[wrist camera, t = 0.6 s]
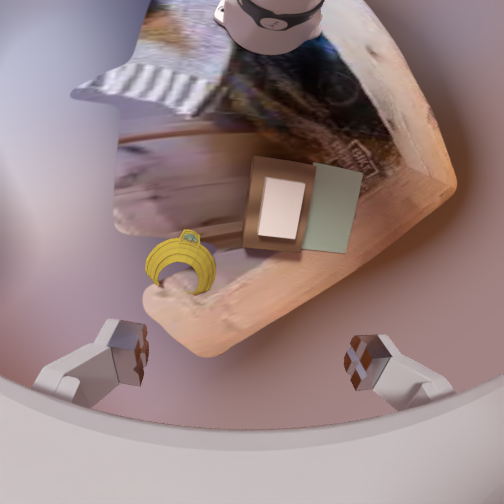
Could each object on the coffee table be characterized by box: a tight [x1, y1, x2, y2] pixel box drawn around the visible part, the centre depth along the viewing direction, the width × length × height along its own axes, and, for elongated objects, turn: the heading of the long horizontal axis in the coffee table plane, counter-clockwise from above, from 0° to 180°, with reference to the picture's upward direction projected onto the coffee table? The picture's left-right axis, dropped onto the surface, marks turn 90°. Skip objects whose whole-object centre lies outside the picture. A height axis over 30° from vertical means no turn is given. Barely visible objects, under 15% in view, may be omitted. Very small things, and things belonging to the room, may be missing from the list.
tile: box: [257, 177, 305, 239], centre depth 43 cm, size 9×6×2 cm, turn 172°
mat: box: [301, 162, 363, 253], centre depth 49 cm, size 16×10×1 cm, turn 172°
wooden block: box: [241, 155, 317, 253], centre depth 46 cm, size 15×10×4 cm, turn 172°
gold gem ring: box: [145, 230, 216, 295], centre depth 49 cm, size 13×13×4 cm
